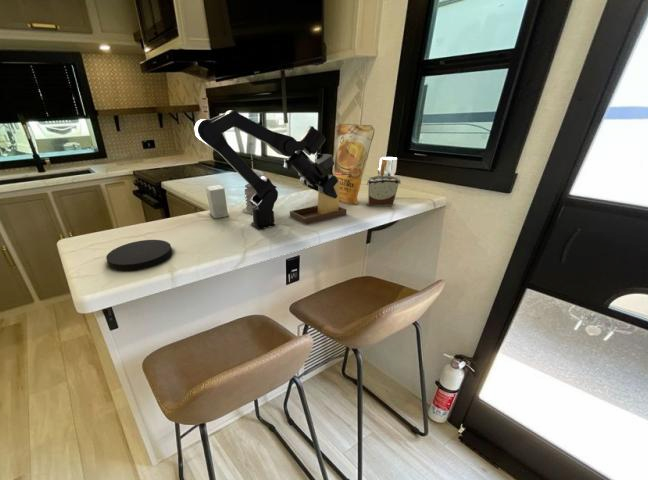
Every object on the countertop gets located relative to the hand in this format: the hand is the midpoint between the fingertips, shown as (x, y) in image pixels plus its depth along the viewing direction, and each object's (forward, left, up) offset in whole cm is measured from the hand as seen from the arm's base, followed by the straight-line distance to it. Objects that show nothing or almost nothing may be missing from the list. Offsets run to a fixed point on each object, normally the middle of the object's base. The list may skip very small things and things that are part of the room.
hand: (331, 195), depth 113 cm
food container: (+23, -1, -7) cm, 24 cm away
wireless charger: (-69, -1, -7) cm, 69 cm away
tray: (-6, 0, -7) cm, 9 cm away
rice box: (-1, 0, -6) cm, 7 cm away
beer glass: (+32, +6, -7) cm, 33 cm away
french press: (-21, +21, -7) cm, 30 cm away
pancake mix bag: (+16, +11, -7) cm, 21 cm away
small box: (-36, +25, -7) cm, 44 cm away
